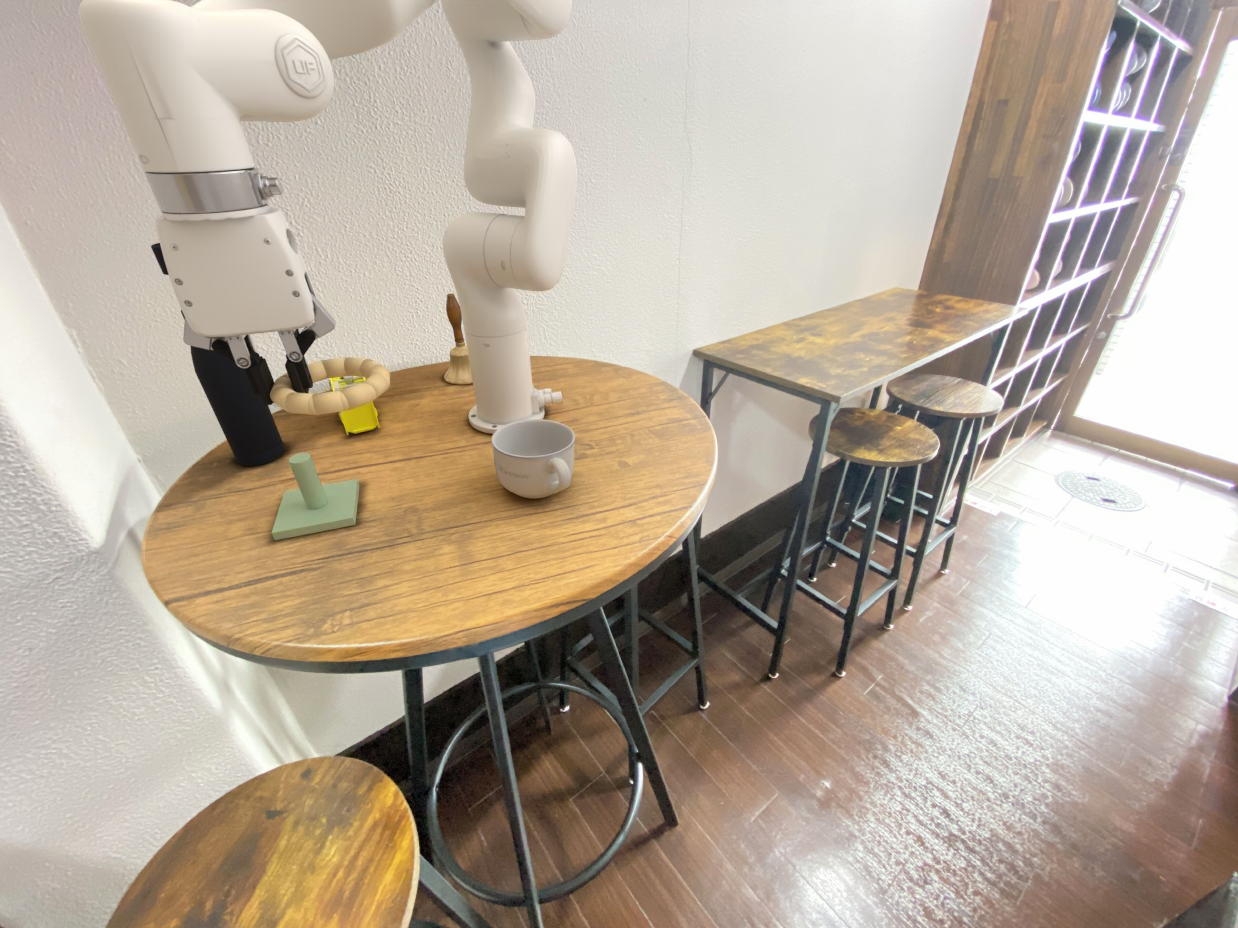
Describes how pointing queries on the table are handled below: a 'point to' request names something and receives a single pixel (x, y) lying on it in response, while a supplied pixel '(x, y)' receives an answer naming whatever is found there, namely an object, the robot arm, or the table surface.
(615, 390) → the table surface
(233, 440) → the black insulated water bottle
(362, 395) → the ring
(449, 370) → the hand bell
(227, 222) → the robot arm
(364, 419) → the yellow toy chassis
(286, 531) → the post
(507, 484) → the teacup
